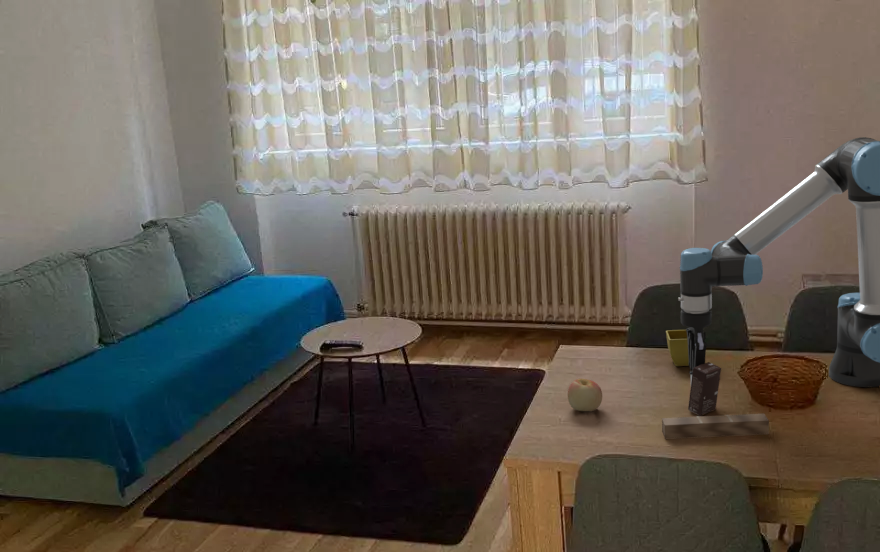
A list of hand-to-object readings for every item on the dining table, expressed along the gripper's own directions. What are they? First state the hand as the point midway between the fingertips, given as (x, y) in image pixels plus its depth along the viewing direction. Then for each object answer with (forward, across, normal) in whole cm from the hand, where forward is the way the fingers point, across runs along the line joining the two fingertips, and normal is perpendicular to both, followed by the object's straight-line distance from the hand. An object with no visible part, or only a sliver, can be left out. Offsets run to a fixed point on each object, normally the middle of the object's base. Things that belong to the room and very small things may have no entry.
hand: (696, 396), depth 225 cm
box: (+2, +6, 0) cm, 6 cm away
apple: (+2, +2, -29) cm, 29 cm away
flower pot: (+2, -28, +2) cm, 28 cm away
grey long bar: (+2, +19, 0) cm, 19 cm away
